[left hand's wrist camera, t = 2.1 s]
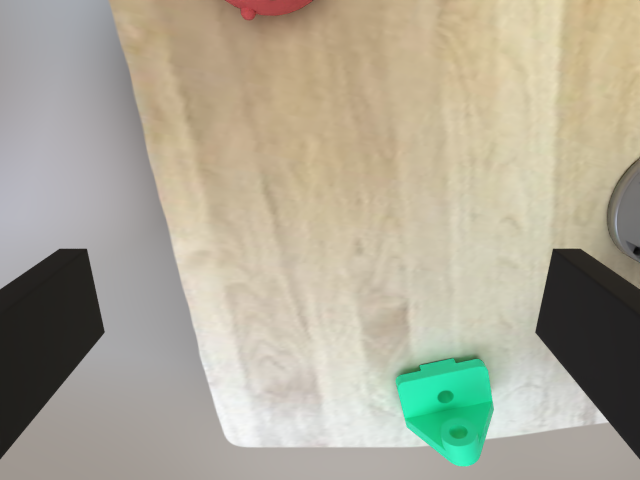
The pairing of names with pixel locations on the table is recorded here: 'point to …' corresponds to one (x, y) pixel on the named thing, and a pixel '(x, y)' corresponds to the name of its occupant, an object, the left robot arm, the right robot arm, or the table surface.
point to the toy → (267, 7)
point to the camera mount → (449, 407)
